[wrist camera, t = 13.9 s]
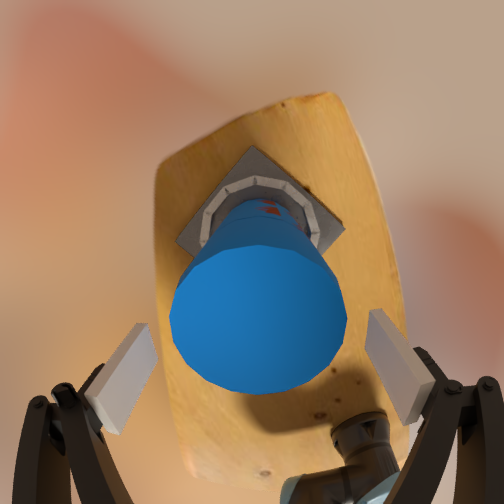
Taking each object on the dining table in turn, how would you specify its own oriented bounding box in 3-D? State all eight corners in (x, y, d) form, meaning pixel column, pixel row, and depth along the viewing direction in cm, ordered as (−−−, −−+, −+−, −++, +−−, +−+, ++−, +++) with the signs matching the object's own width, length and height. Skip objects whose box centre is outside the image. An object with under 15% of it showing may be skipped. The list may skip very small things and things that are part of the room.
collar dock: (343, 227, 39) (348, 230, 37) (265, 310, 44) (265, 317, 41) (252, 146, 36) (251, 144, 34) (176, 239, 41) (171, 244, 38)
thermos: (246, 282, 41) (229, 412, 17) (208, 221, 39) (132, 298, 15) (310, 248, 39) (371, 353, 15) (274, 183, 37) (300, 202, 13)
